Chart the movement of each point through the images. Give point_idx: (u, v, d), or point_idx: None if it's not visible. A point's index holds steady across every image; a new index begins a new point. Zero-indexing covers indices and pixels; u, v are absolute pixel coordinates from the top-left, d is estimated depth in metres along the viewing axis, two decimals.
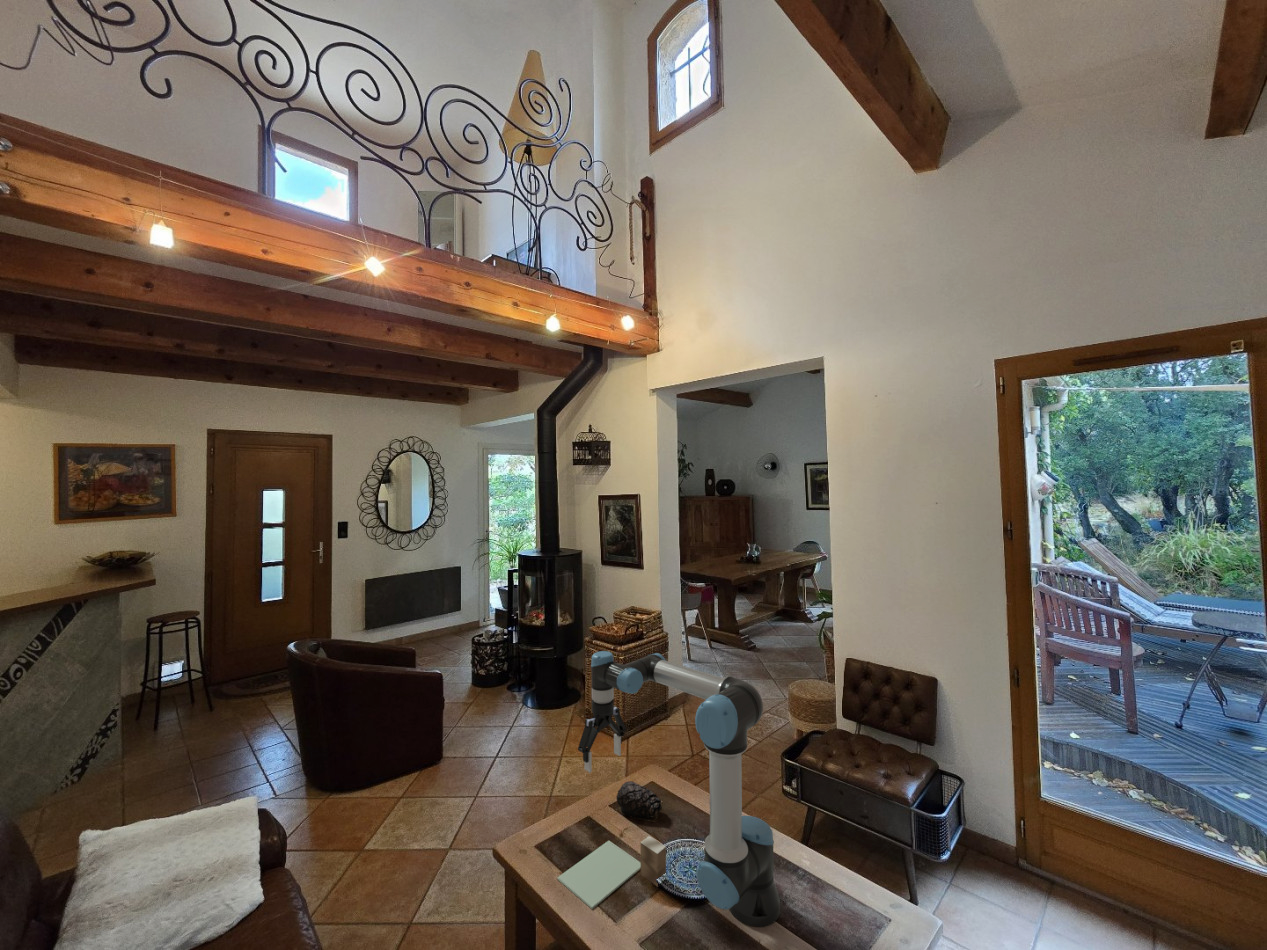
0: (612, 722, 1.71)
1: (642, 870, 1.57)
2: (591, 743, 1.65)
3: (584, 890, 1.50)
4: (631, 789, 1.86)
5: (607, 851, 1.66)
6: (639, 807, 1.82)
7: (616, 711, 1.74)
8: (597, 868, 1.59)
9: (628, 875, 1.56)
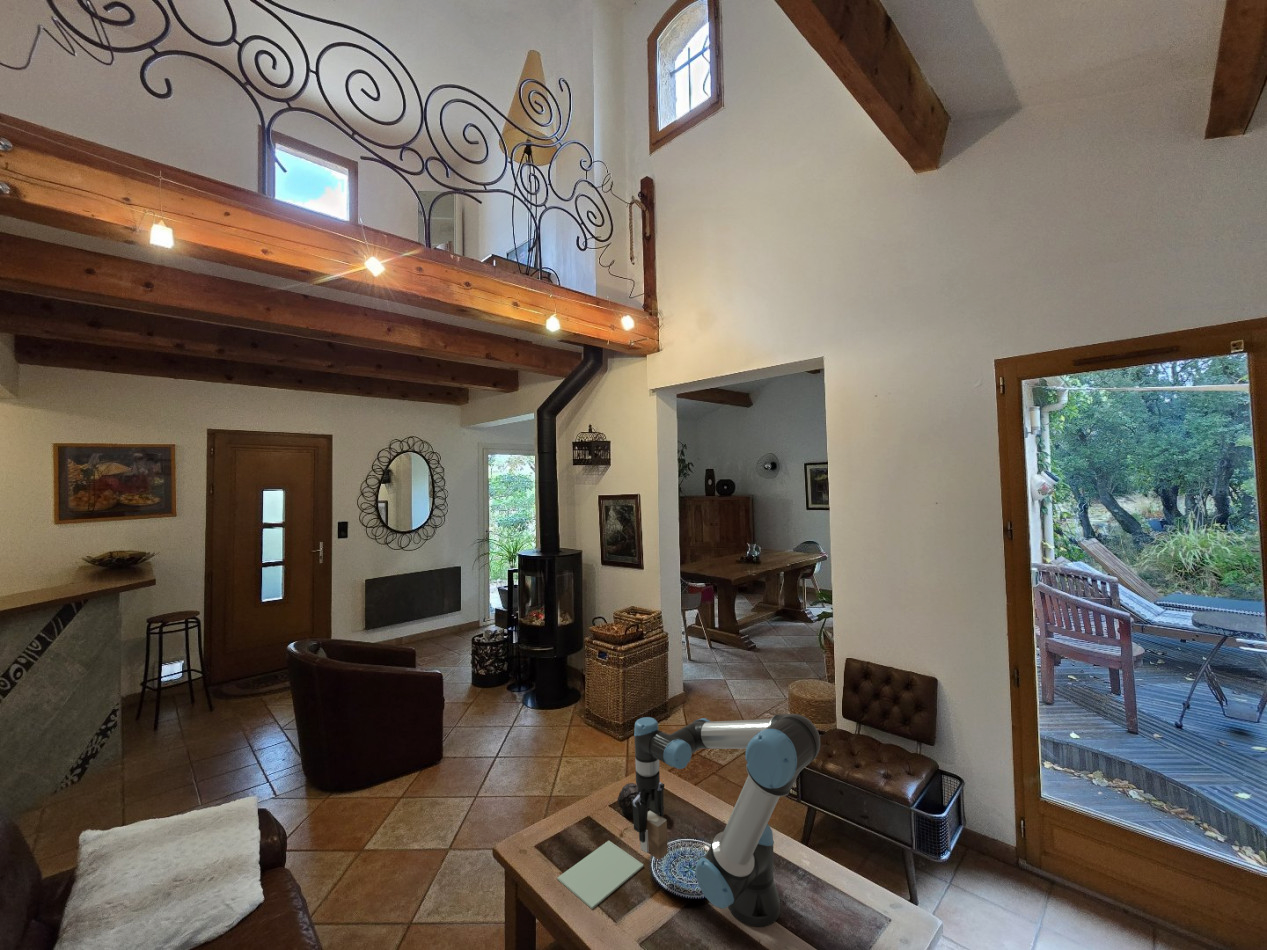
0: (656, 798, 1.58)
1: None
2: (645, 821, 1.55)
3: (584, 890, 1.50)
4: (633, 791, 1.84)
5: (607, 851, 1.66)
6: None
7: (661, 786, 1.61)
8: (597, 868, 1.59)
9: (628, 875, 1.56)
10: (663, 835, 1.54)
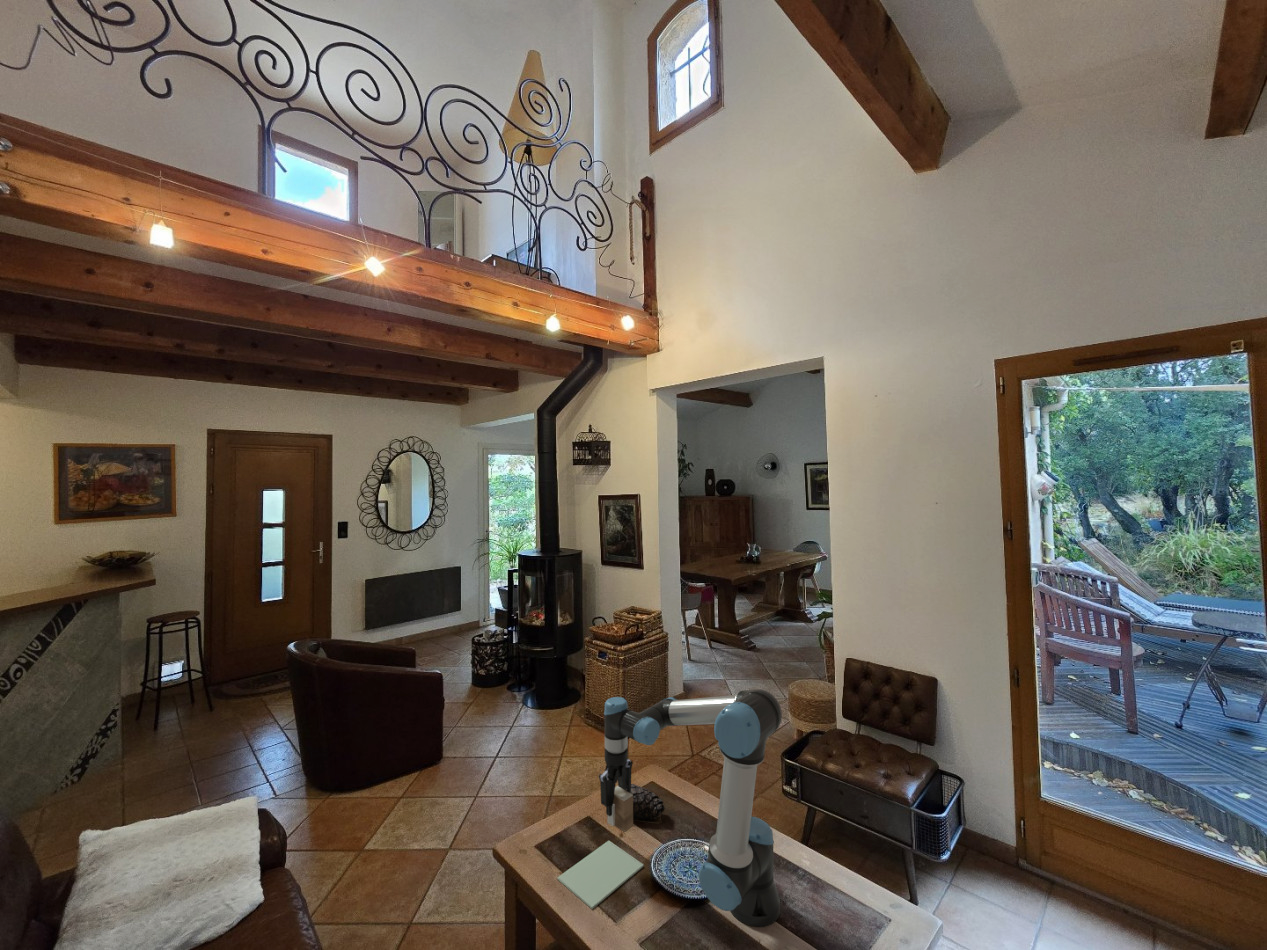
0: (623, 775, 1.63)
1: None
2: (612, 796, 1.60)
3: (584, 890, 1.50)
4: (633, 792, 1.84)
5: (607, 851, 1.66)
6: (642, 809, 1.81)
7: (629, 763, 1.67)
8: (597, 868, 1.59)
9: (628, 875, 1.56)
10: (629, 809, 1.59)
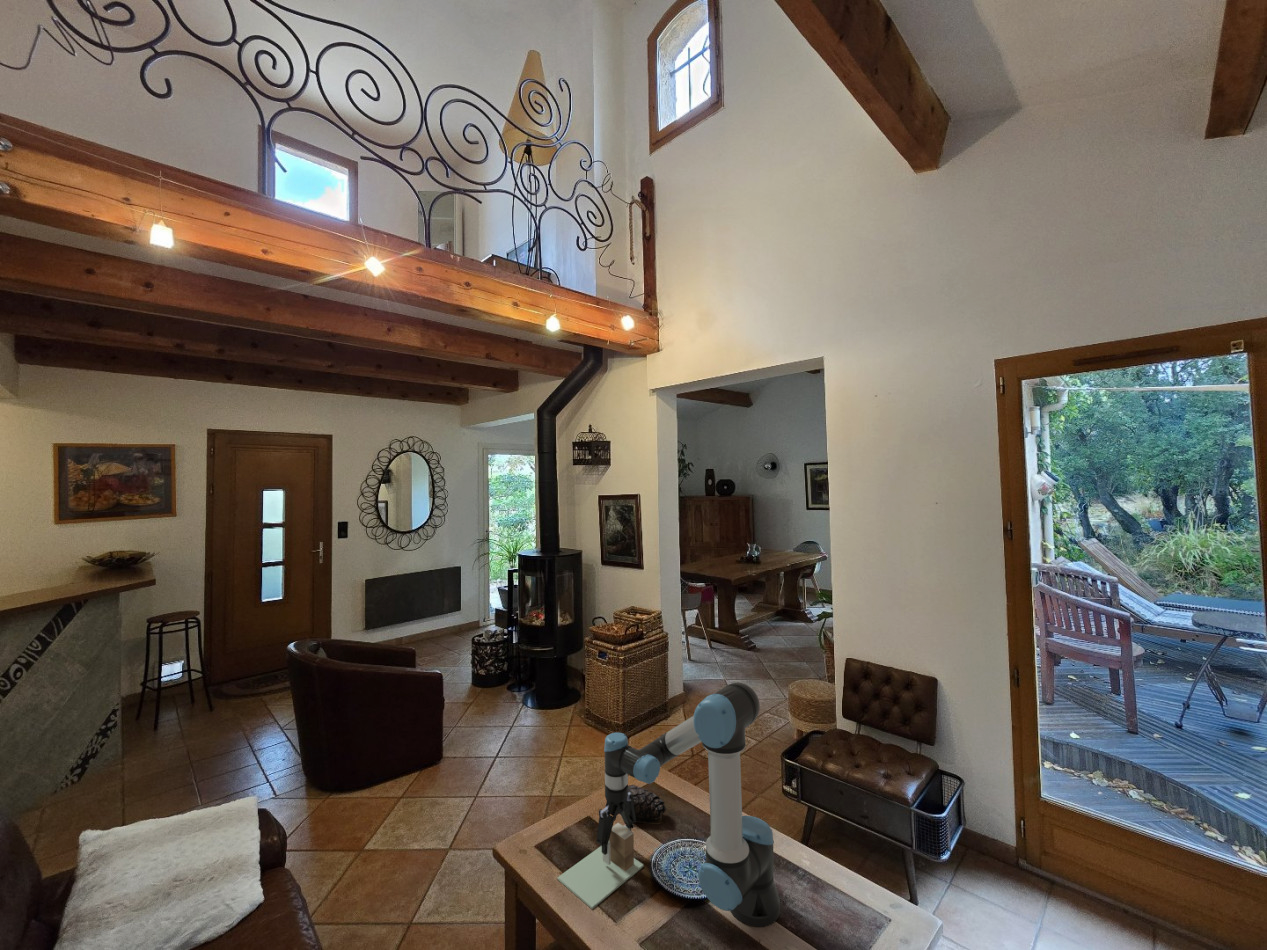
0: (625, 809, 1.64)
1: (610, 855, 1.62)
2: (609, 834, 1.59)
3: (584, 890, 1.50)
4: (634, 793, 1.83)
5: None
6: (643, 810, 1.80)
7: (630, 797, 1.67)
8: (597, 868, 1.59)
9: (628, 875, 1.56)
10: (629, 847, 1.59)
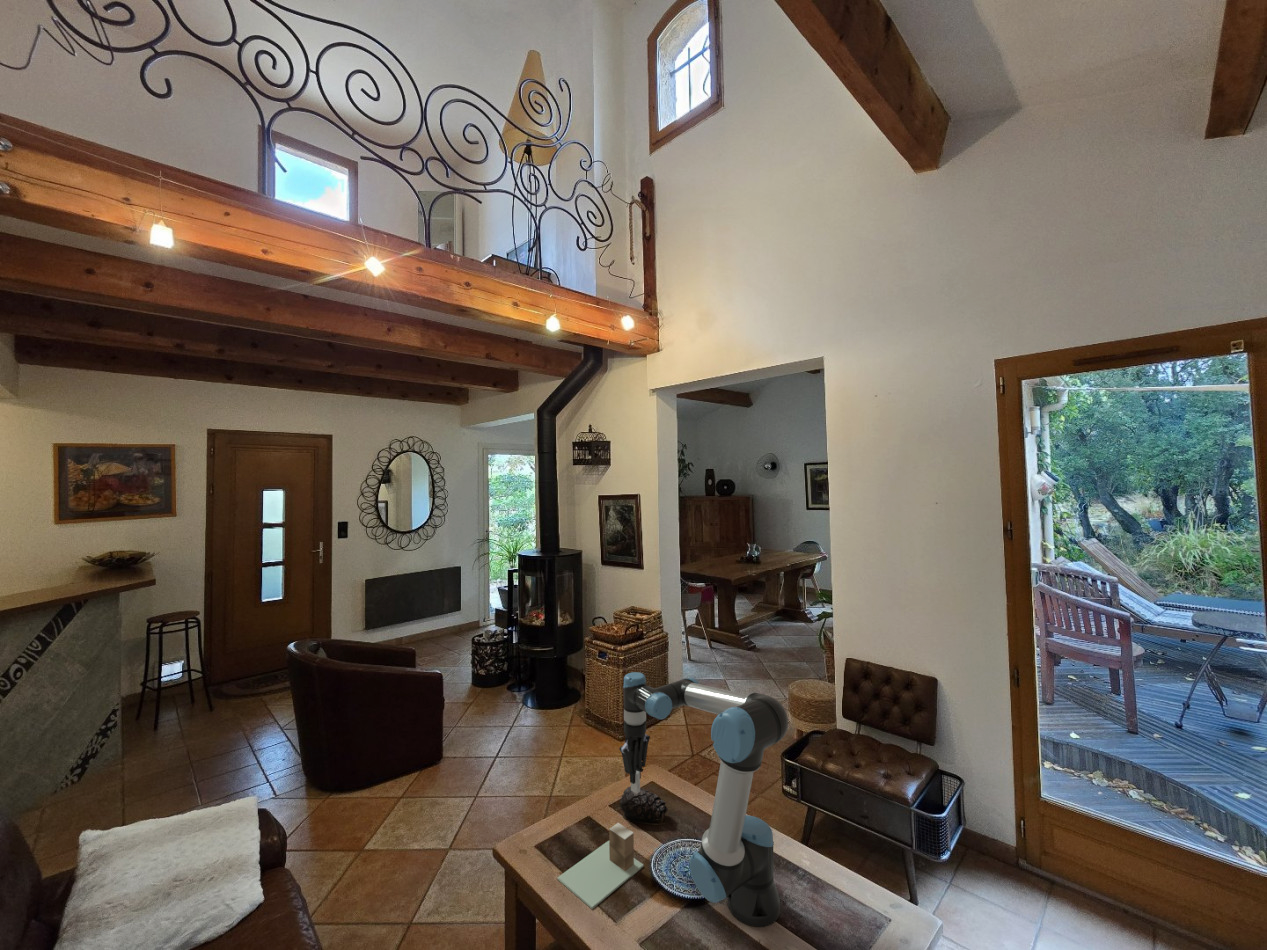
0: (641, 747, 1.70)
1: (610, 855, 1.62)
2: (634, 765, 1.68)
3: (584, 890, 1.50)
4: (636, 794, 1.83)
5: (607, 851, 1.66)
6: (645, 811, 1.80)
7: (646, 738, 1.73)
8: (597, 868, 1.59)
9: (628, 875, 1.56)
10: (629, 847, 1.59)
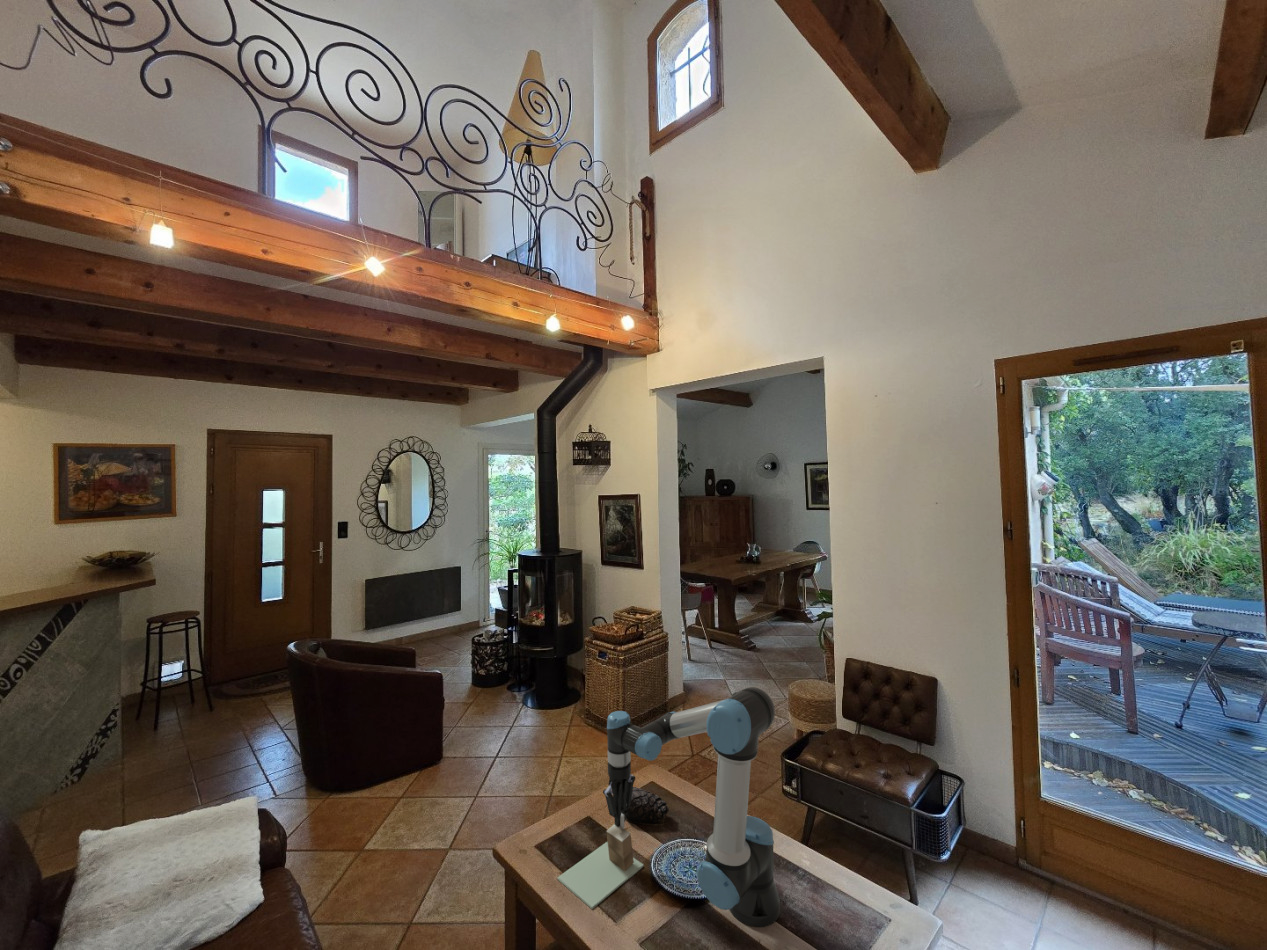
0: (625, 789, 1.64)
1: (610, 856, 1.62)
2: (619, 808, 1.63)
3: (584, 890, 1.50)
4: (637, 795, 1.82)
5: (607, 851, 1.66)
6: (646, 812, 1.79)
7: (632, 778, 1.67)
8: (597, 868, 1.59)
9: (628, 875, 1.56)
10: (628, 848, 1.59)
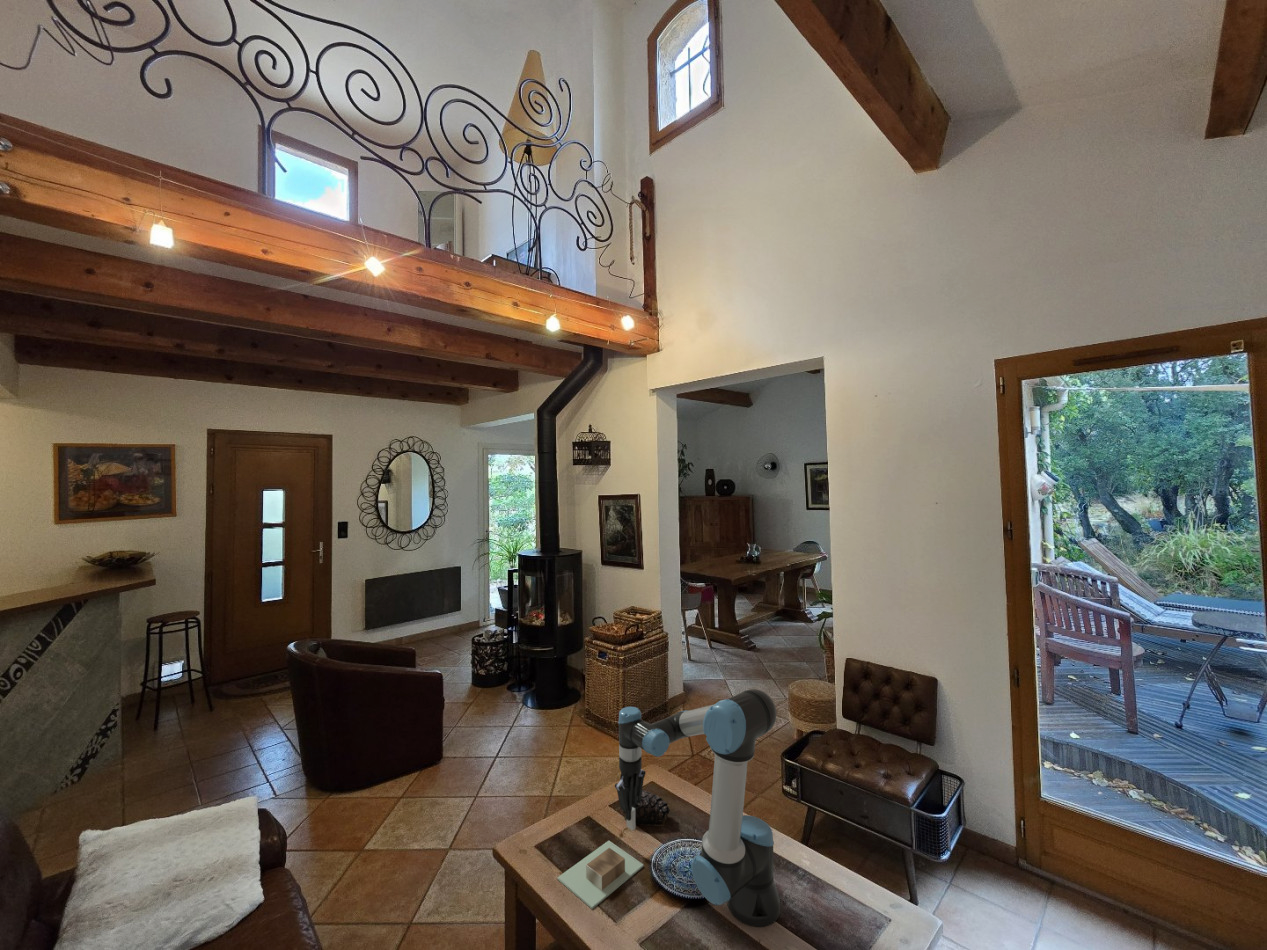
0: (636, 783, 1.68)
1: None
2: (630, 802, 1.66)
3: (584, 890, 1.50)
4: None
5: None
6: (647, 813, 1.79)
7: (642, 773, 1.71)
8: None
9: (628, 875, 1.56)
10: (610, 875, 1.53)
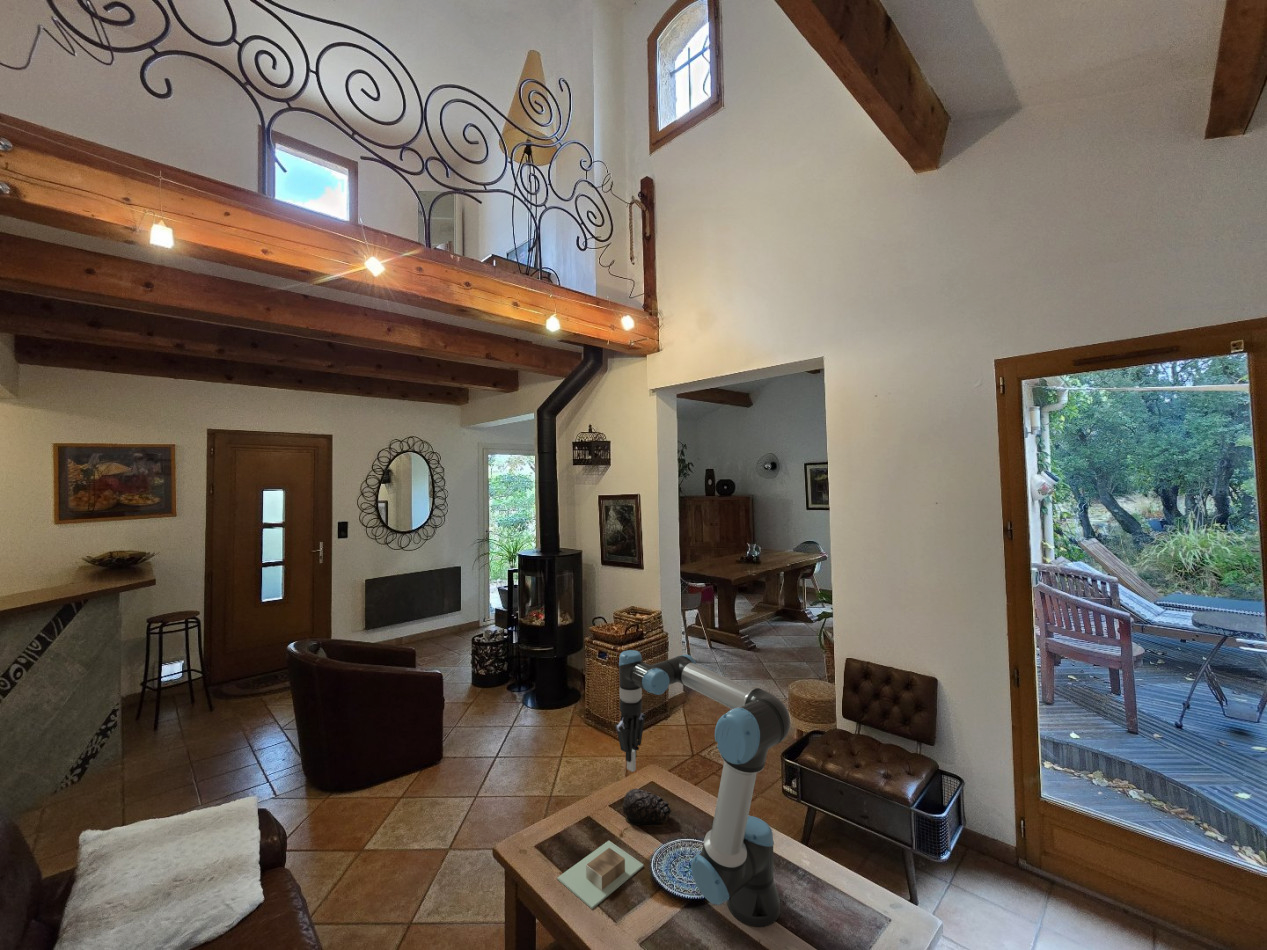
0: (637, 725, 1.68)
1: None
2: (630, 743, 1.67)
3: (584, 890, 1.50)
4: (639, 796, 1.81)
5: None
6: (649, 813, 1.78)
7: (642, 716, 1.72)
8: None
9: (628, 875, 1.56)
10: (610, 875, 1.53)
